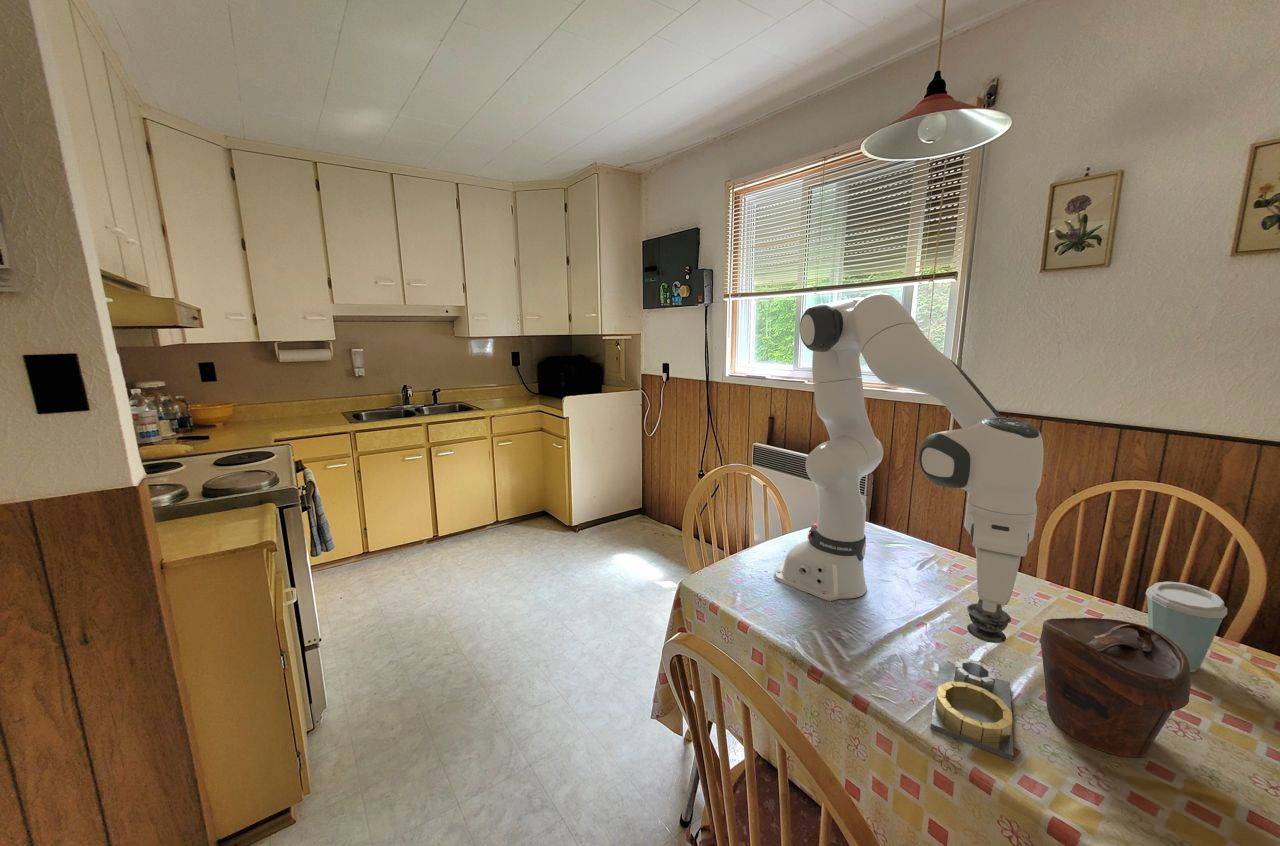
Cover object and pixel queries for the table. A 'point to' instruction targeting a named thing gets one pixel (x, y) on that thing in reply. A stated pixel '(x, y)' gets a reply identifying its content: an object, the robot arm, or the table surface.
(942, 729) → the socket plate
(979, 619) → the stone chess piece
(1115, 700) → the case
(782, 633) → the table surface
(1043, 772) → the table surface
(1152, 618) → the disposable coffee cup
